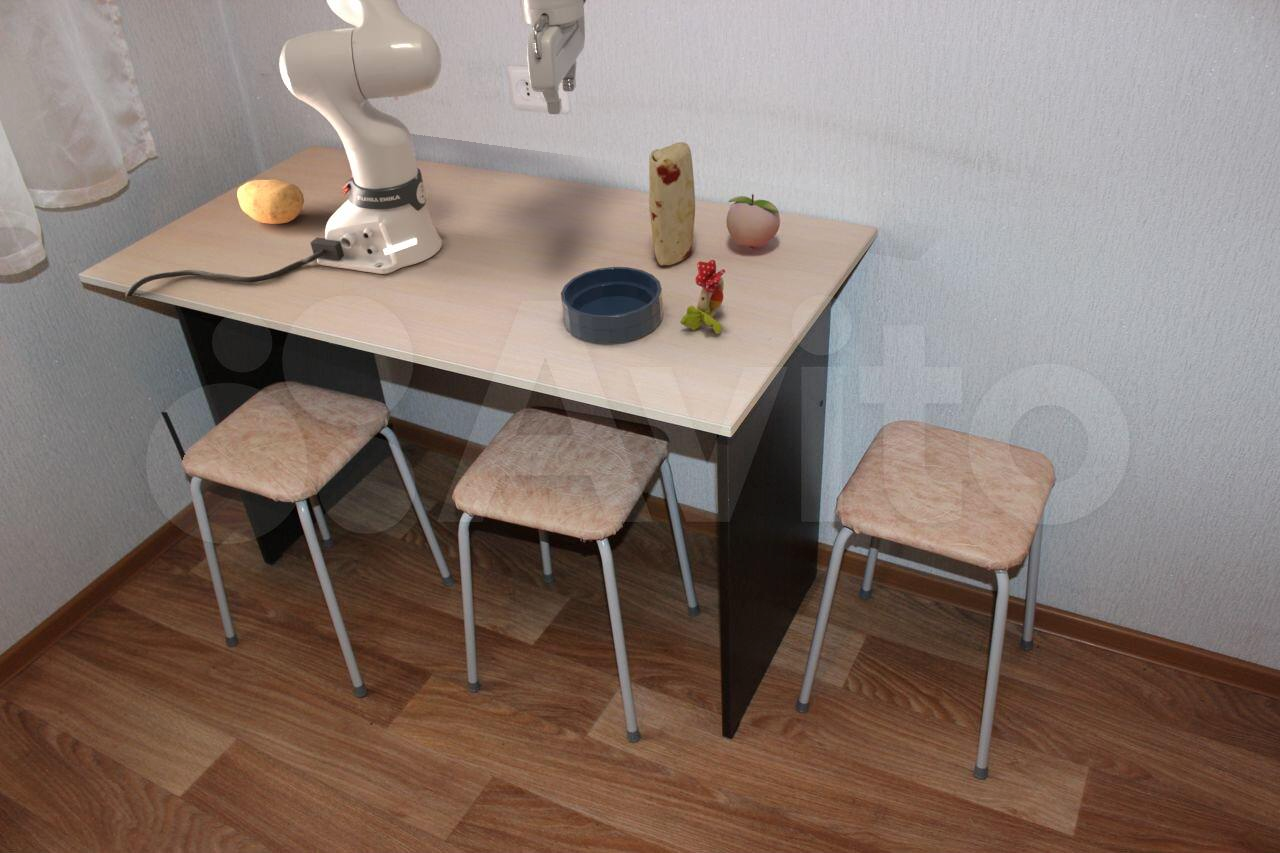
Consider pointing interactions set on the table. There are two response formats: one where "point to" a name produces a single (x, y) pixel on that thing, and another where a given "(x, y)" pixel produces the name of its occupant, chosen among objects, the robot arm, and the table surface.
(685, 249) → the food model
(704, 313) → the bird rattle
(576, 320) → the bowl
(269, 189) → the potato
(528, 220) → the table surface
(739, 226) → the decorative fruit
